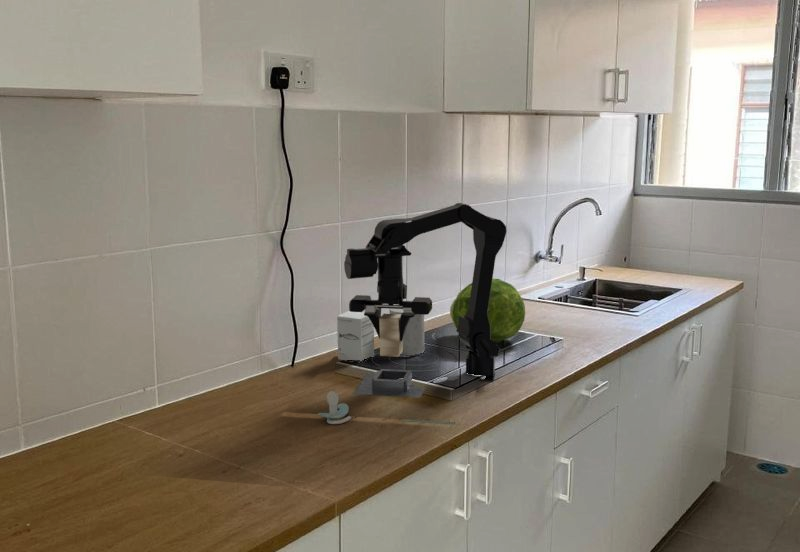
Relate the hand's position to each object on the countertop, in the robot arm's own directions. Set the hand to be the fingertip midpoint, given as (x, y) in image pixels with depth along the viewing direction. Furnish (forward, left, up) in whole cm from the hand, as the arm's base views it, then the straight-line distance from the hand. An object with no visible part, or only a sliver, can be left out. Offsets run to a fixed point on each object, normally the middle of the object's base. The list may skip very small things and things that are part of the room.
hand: (391, 340), depth 190 cm
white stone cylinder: (+2, -29, -12) cm, 32 cm away
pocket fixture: (0, 0, -12) cm, 12 cm away
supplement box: (+14, -20, -12) cm, 27 cm away
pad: (-12, +14, -12) cm, 22 cm away
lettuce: (-17, -42, -12) cm, 47 cm away
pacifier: (+8, +21, -12) cm, 25 cm away
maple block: (0, 0, -3) cm, 3 cm away
